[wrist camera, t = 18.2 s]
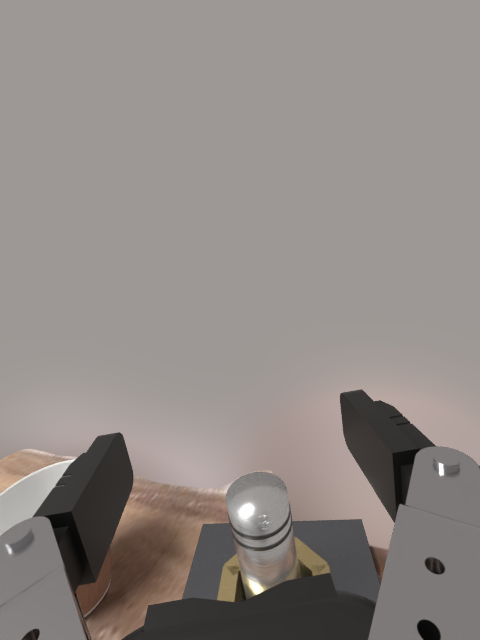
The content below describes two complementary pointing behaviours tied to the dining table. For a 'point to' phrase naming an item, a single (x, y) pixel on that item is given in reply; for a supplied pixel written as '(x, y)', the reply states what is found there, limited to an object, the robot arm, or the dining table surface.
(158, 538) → the dining table surface
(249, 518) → the piston
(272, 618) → the robot arm
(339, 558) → the collar plate
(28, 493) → the coffee cup
